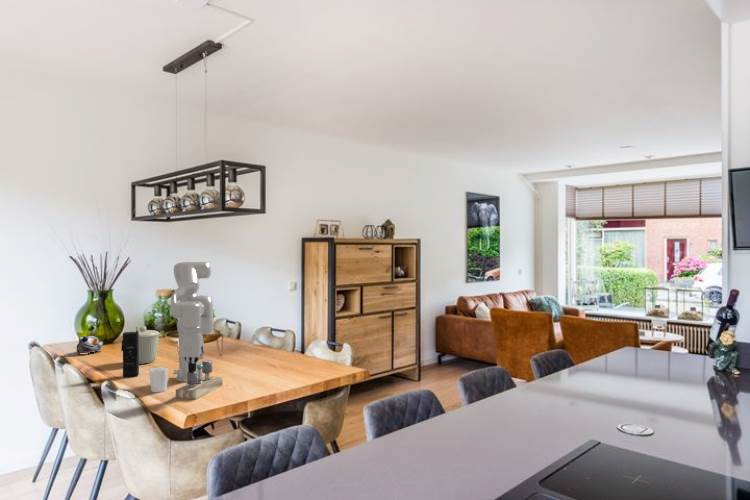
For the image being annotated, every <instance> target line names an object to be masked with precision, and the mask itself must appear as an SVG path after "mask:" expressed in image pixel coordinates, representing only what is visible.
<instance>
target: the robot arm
mask: <svg viewBox="0 0 750 500" xmlns="http://www.w3.org/2000/svg"><path fill="white" fill-rule="evenodd" d="M211 274H212V268H211V266H210V263H209V262H208V261H183V262H182V261H181V262H178V263H176V264H174V267H173V275H174V279H175V282H176V284H177V288H176V289H175V291H173V293H172V295H171V296H170V315H171V317H173V318H174V319H178V320H177V323H176V328H177V334H178V358H179V359H178V361H179V362H178V365H179V369H174V370H173V372H172V374H173V375H177V376H176V377H175V379H176V381H177V382H181V383H182V382H184V383H185V382H186V383H187V372H189V373H190V372H191V373H193V372H195V371H197V374H198V368H197V365H200V361H201V360H203V359H204V354H205V344H204V343H205V342H204V337H203V335H209V334H211V333H213V331H214V327H215V326H214V325H215V324H214V322H215V321H214V306H213V305H214V304H213V299H212V298H211V297H210V295H209V296H208V295H198V291H199V289H200V281H199V279H209V278H210V277H211ZM202 377H203V374H202Z"/></svg>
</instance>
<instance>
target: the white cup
mask: <svg viewBox="0 0 750 500" xmlns="http://www.w3.org/2000/svg"><path fill="white" fill-rule="evenodd" d="M168 378H169V368H168V367H166V366H159V367H158V366H157V367H153V368H150V369H149V381H150V391H151V392H152V393H163V392H165V391H167V389H168V381H169V379H168Z"/></svg>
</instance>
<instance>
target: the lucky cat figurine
mask: <svg viewBox="0 0 750 500" xmlns="http://www.w3.org/2000/svg"><path fill="white" fill-rule="evenodd" d="M103 344H104V342H103V341H102V340H99V338H98V337H96V336H94V335H88V336H80V337H79V338H78V343H77V344H76V353H78V354H79V353H89V354H91V353H90V352H94V353H96V352H95V351H100V350H101V351H102V348H103ZM101 351H100V352H101Z"/></svg>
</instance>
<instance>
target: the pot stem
mask: <svg viewBox="0 0 750 500" xmlns="http://www.w3.org/2000/svg"><path fill="white" fill-rule="evenodd" d="M197 368H198V383H197V384H202V383H203V381H202V375H203V373H202V368H203V365H202V363H201V364H200V363H199V365H197Z"/></svg>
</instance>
